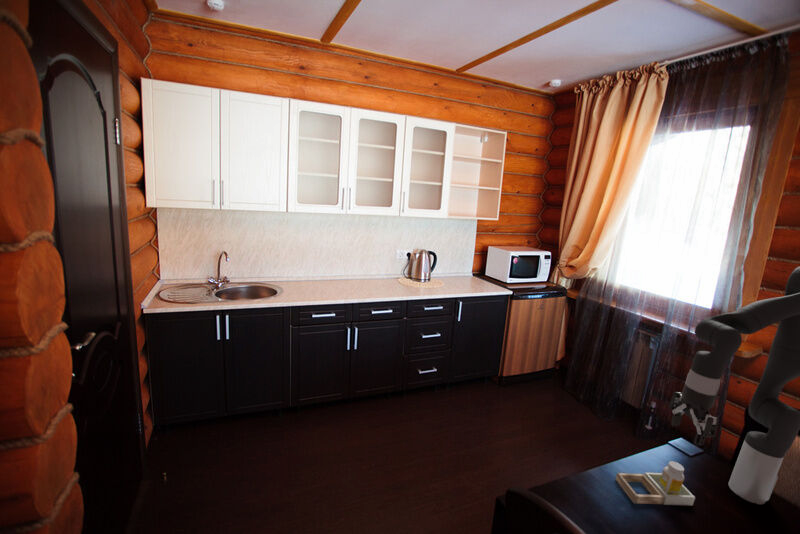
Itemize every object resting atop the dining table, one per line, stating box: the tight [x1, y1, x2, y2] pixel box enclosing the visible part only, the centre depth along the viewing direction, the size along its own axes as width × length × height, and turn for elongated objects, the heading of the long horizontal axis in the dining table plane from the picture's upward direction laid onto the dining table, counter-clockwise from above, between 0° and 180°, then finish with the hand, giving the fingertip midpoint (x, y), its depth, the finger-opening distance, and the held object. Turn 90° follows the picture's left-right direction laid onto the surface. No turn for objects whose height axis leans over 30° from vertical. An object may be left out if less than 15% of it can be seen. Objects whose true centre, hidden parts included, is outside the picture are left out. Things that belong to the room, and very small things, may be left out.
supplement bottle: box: [658, 460, 685, 495], centre depth 118 cm, size 5×5×10 cm
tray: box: [643, 472, 696, 506], centre depth 119 cm, size 9×9×3 cm
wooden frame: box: [615, 472, 664, 505], centre depth 118 cm, size 9×9×2 cm
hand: (685, 434), depth 114 cm, fingers open, 8 cm apart
